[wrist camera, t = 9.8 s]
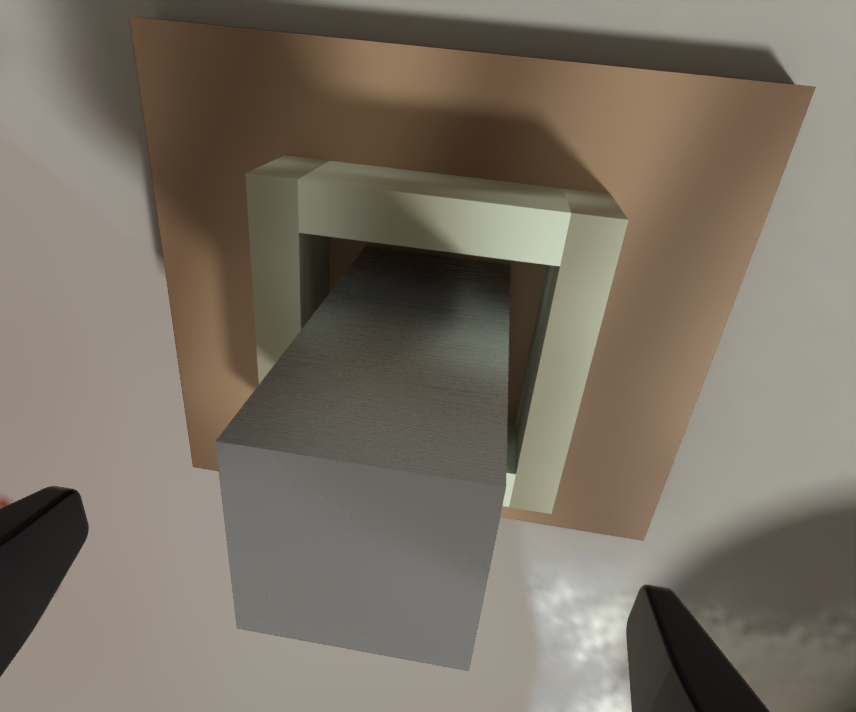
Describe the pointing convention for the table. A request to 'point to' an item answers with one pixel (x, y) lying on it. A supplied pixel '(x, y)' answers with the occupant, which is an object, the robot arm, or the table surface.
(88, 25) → the table surface
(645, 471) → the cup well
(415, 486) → the grey tall block
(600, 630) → the table surface
